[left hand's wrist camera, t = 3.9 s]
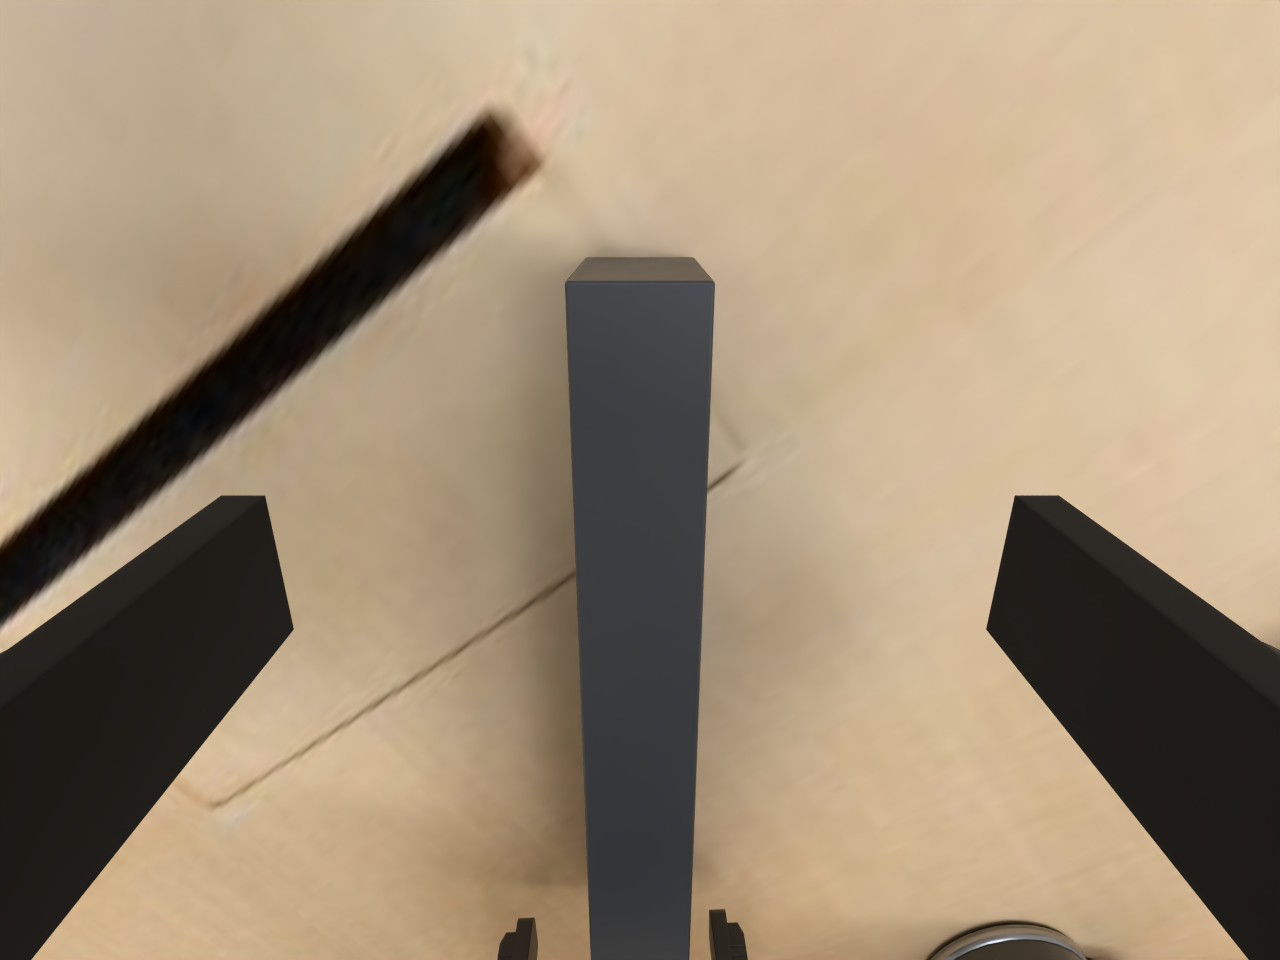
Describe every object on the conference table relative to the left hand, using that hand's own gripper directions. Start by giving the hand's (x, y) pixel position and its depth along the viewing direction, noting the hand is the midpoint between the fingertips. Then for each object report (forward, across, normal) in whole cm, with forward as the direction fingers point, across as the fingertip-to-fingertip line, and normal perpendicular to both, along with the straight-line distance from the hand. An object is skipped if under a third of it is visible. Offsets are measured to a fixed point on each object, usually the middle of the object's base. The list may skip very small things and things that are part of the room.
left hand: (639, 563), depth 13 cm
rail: (+16, 0, -12) cm, 20 cm away
